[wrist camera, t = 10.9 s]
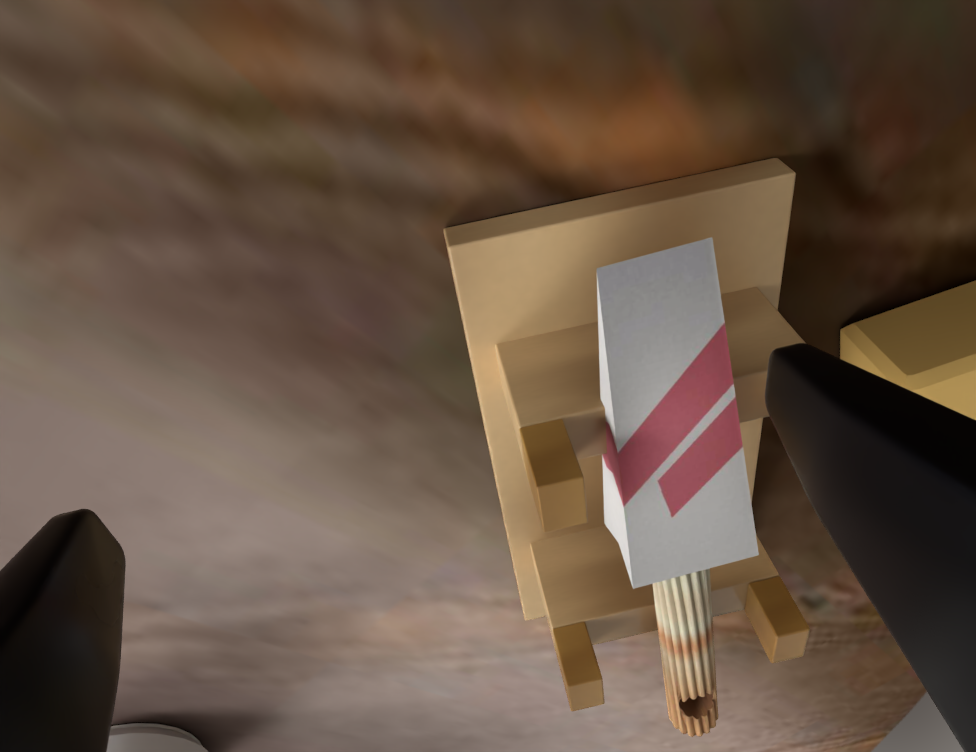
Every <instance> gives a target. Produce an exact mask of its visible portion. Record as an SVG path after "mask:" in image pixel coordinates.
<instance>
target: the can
mask: <svg viewBox="0 0 976 752" xmlns="http://www.w3.org/2000/svg"><path fill="white" fill-rule="evenodd" d="M107 752H208V751H207V750H206V749H205V748H204V747H203V746H201V743H200V741H199V740H198V739H197V738H195V737H194V736H193V735H192V734H191V733H188V732H186V731H184V730H181V729H179V728H176V727H172V726H166V725H161V724H150V723H132V724H124V725H115V726H111V729H110V735H109V741H108V746H107Z"/></svg>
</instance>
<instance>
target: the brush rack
mask: <svg viewBox="0 0 976 752" xmlns="http://www.w3.org/2000/svg"><path fill="white" fill-rule="evenodd" d="M795 178H796V173H795V172H794V171H793V170H792V169H790V168H789V167H788V166H787V165H786V164H784V163H783V162H782V161H781V160H779V159H778V158H771V159H767V160H762V161H757V162H752V163H748V164H743V165H738V166H734V167H729V168H724V169H720V170H715V171H710V172H706V173H701V174H696V175H692V176H687V177H682V178H678V179H673V180H668V181H664V182H659V183H654V184H649V185H645V186H640V187H635V188H631V189H626V190H621V191H617V192H612V193H607V194H603V195H598V196H593V197H589V198H584V199H579V200H575V201H570V202H565V203H561V204H556V205H551V206H546V207H542V208H537V209H532V210H528V211H523V212H518V213H514V214H509V215H504V216H500V217H495V218H490V219H486V220H481V221H476V222H472V223H467V224H462V225H457V226H453V227H448V228H445V229H444V231H443V232H444V236H445V241H446V246H447V251H448V256H449V260H450V265H451V270H452V275H453V280H454V284H455V289H456V294H457V299H458V303H459V308H460V313H461V318H462V323H463V327H464V332H465V337H466V342H467V347H468V351H469V356H470V361H471V366H472V371H473V375H474V380H475V385H476V390H477V395H478V399H479V404H480V409H481V414H482V419H483V423H484V428H485V433H486V438H487V442H488V447H489V452H490V457H491V462H492V466H493V471H494V476H495V481H496V486H497V490H498V495H499V500H500V505H501V510H502V514H503V519H504V524H505V529H506V534H507V538H508V543H509V548H510V553H511V558H512V562H513V567H514V572H515V577H516V581H517V586H518V591H519V596H520V601H521V605H522V609H523V613H524V618H525V620H526V621H527V620H532V619H536V618H540V617H545V616H547V620H548V624H549V628H550V632H551V635H552V639H553V643H554V647H555V651H556V655H557V659H558V662H559V666H560V670H561V674H562V678H563V682H564V686H565V690H566V693H567V697H568V701H569V705H570V709H571V711H576V710H580V709H584V708H589V707H593V706H597V705H601V704H604V692H603V681H602V676H601V673H600V669H599V666H598V663H597V659H596V656H595V653H594V650H593V646H592V645H595V644H600V643H604V642H608V641H612V640H617V639H621V638H625V637H629V636H634V635H638V634H642V633H646V632H651V631H655V630H658V626H657V618H656V610H655V601H654V592H653V584H649V585H646V586H642V587H638V588H635V589H633V587H632V584H631V581H630V578H629V574H628V571H627V568H626V565H625V562H624V559H623V556H622V553H621V549H620V546H619V543H618V542H617V540H616V539H615V538H614V536H613V535H612V533H611V532H610V531H609V529H608V528H607V527H606V525H605V524H604V496H603V463H602V454H605V453H607V442H606V419H605V407H604V405H603V403H602V401H601V399H600V366H599V334H598V301H597V269H596V268H600V267H603V266H607V265H611V264H615V263H618V262H622V261H626V260H629V259H633V258H637V257H641V256H644V255H648V254H652V253H656V252H659V251H663V250H667V249H670V248H674V247H678V246H682V245H685V244H689V243H693V242H697V241H700V240H704V239H708V238H711V237H712V239H713V246H714V253H715V260H716V267H717V273H718V280H719V287H720V294H721V301H722V307H723V314H724V321H725V328H726V335H727V341H728V348H729V355H730V362H731V369H732V375H733V382H734V389H735V396H736V403H737V410H738V416H739V423H740V430H741V437H742V444H743V450H744V457H745V464H746V471H747V478H748V484H749V491H750V498H751V503H752V496H753V489H754V481H755V474H756V466H757V459H758V452H759V444H760V437H761V429H762V422H763V418H764V417H769V414H768V411H767V408H766V404H765V388H766V379H767V371H768V363H769V357H770V354H771V352H772V351H773V350H775V349H776V348H780V347H784V346H788V345H793V344H797V343H805V342H804V341H803V339H802V338H801V337H800V336H799V335H798V334H797V333H796V331H795V330H794V329H793V328H792V327H791V326H790V325H789V323H788V322H787V321H786V320H785V319H784V318H783V316H782V315H781V314H780V313H779V312H778V303H779V296H780V289H781V281H782V274H783V266H784V259H785V252H786V244H787V237H788V229H789V222H790V215H791V207H792V200H793V192H794V185H795ZM805 344H806V343H805ZM756 539H757V546H758V553H759V555H757V556H754V557H750V558H746V559H742V560H739V561H735V562H731V563H727V564H724V565H720V566H716V567H713V568H710V582H711V600H712V617H714V616H719V615H723V614H727V613H731V612H736V611H740V610H744V609H745V612H746V614H747V616H748V618H749V620H750V622H751V624H752V626H753V628H754V630H755V632H756V634H757V636H758V638H759V640H760V642H761V644H762V646H763V648H764V650H765V652H766V654H767V656H768V658H769V660H770V662H771V663H776V662H780V661H785V660H789V659H793V658H797V657H801V656H803V655H804V651H805V647H806V643H807V640H808V636H809V632H810V628H809V626H808V625H807V623H806V621H805V619H804V618H803V616H802V614H801V612H800V611H799V609H798V607H797V605H796V604H795V602H794V600H793V599H792V597H791V595H790V593H789V592H788V590H787V588H786V586H785V585H784V583H783V581H782V579H781V578H780V577H779V574H778V572H777V570H776V568H775V567H774V565H773V563H772V561H771V560H770V558H769V556H768V554H767V553H766V551H765V549H764V547H763V546H762V544H761V542H760V541H759V539H758V537H757V535H756Z"/></svg>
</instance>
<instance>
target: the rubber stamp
mask: <svg viewBox="0 0 976 752" xmlns="http://www.w3.org/2000/svg"><path fill="white" fill-rule="evenodd" d="M840 359H842V360H844V361H846V362H848V363H851V364H853V365H855V366H857V367H859V368H862V369H864V370H866V371H868V372H870V373H873V374H875V375H877V376H879V377H882V378H884V379H886V380H888V381H890V382H893V383H895V384H897V385H899V386H901V387H904V388H906V389H908V390H910V391H912V392H915V393H917V394H919V395H921V396H923V397H926V398H928V399H930V400H932V401H934V402H937V403H939V404H941V405H943V406H946V407H948V408H950V409H952V410H954V411H957V412H959V413H961V414H963V415H965V416H968V417H970V418H972V419H974V420H976V280H975V281H973V282H970V283H967V284H964V285H961V286H958V287H955V288H953V289H950V290H947V291H944V292H941V293H938V294H935V295H933V296H930V297H927V298H924V299H921V300H918V301H915V302H913V303H910V304H907V305H904V306H901V307H898V308H895V309H893V310H890V311H887V312H884V313H881V314H878V315H875V316H873V317H870V318H867V319H864V320H861V321H858V322H855V323H853V324H850V325H848V326H846V327H844V328H843V329H841V330H840Z"/></svg>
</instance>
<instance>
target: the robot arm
mask: <svg viewBox="0 0 976 752" xmlns="http://www.w3.org/2000/svg"><path fill="white" fill-rule="evenodd" d="M765 404H766V408H767V411H768V414H769V416H770V418H771V420H772V422H773V424H774V427H775V429H776V431H777V433H778V435H779V437H780V439H781V441H782V444H783V446H784V448H785V450H786V452H787V454H788V456H789V458H790V461H791V463H792V465H793V467H794V469H795V471H796V473H797V475H798V478H799V480H800V482H801V484H802V486H803V488H804V490H805V492H806V494H807V496H808V498H809V500H810V502H811V504H812V506H813V508H814V510H815V512H816V513H817V515H818V517H819V518H820V520H821V522H822V524H823V525H824V527H825V528H826V530H827V532H828V533H829V535H830V536H831V538H832V540H833V541H834V543H835V544H836V546H837V548H838V549H839V551H840V552H841V554H842V556H843V557H844V559H845V560H846V562H847V564H848V565H849V567H850V568H851V570H852V572H853V573H854V575H855V576H856V578H857V580H858V581H859V583H860V585H861V586H862V588H863V589H864V591H865V593H866V594H867V596H868V597H869V599H870V601H871V602H872V604H873V605H874V607H875V609H876V610H877V612H878V613H879V615H880V617H881V618H882V620H883V621H884V623H885V625H886V626H887V628H888V629H889V631H890V633H891V634H892V636H893V638H894V639H895V641H896V642H897V644H898V646H899V647H900V649H901V650H902V652H903V654H904V655H905V657H906V658H907V660H908V662H909V663H910V665H911V666H912V668H913V670H914V671H915V673H916V674H917V676H918V678H919V679H920V681H921V682H922V684H923V686H924V687H925V689H926V690H927V692H928V694H929V695H930V697H931V699H932V700H933V702H934V703H935V705H936V707H937V708H938V710H939V711H940V713H941V715H942V716H943V718H944V719H945V721H946V722H947V724H948V726H949V727H950V729H951V730H952V732H953V734H954V735H955V737H956V739H957V740H958V742H959V743H960V745H961V747H962V748H963V750H964V752H976V420H974V419H972V418H970V417H968V416H965V415H963V414H961V413H959V412H957V411H954V410H952V409H950V408H948V407H946V406H943V405H941V404H939V403H937V402H934V401H932V400H930V399H928V398H926V397H923V396H921V395H919V394H917V393H915V392H912V391H910V390H908V389H906V388H904V387H901V386H899V385H897V384H895V383H893V382H890V381H888V380H886V379H884V378H882V377H879V376H877V375H875V374H873V373H870V372H868V371H866V370H864V369H862V368H859V367H857V366H855V365H853V364H851V363H848V362H846V361H844V360H842V359H840V358H837V357H835V356H833V355H831V354H829V353H826V352H824V351H822V350H820V349H817V348H815V347H813V346H811V345H808V344H805V343H797V344H793V345H788V346H784V347H780V348H776V349H775V350H773V351H772V352H771V354H770V357H769V363H768V371H767V379H766V388H765ZM124 584H125V556H124V552H123V550H122V547H121V546H120V544H119V543H118V541H117V540H116V539H115V538H114V536H113V535H112V534H111V533H110V531H109V530H108V529H107V528H106V526H105V525H104V524H103V523H102V521H101V520H100V519H99V517H98V516H97V515H96V514H95V513H94V512H93V511H91V510H88V509H80V510H76V511H72V512H68V513H63V514H59V515H57V516H55V517H53V518H52V519H50V520H49V521H48V522H47V523H46V524H45V525H44V526H43V527H42V528H41V530H40V531H39V532H38V533H37V534H36V535H35V536H34V537H33V538H32V539H31V540H30V541H29V542H28V543H27V544H26V545H25V546H24V547H23V548H22V549H21V550H20V551H19V552H18V553H17V554H16V555H15V556H14V557H13V558H12V559H11V560H10V561H9V562H8V563H7V564H6V566H5V567H4V568H3V569H2V570H1V571H0V752H107V746H108V741H109V735H110V729H111V723H112V717H113V711H114V705H115V699H116V693H117V686H118V679H119V671H120V659H121V643H122V623H123V603H124Z"/></svg>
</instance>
